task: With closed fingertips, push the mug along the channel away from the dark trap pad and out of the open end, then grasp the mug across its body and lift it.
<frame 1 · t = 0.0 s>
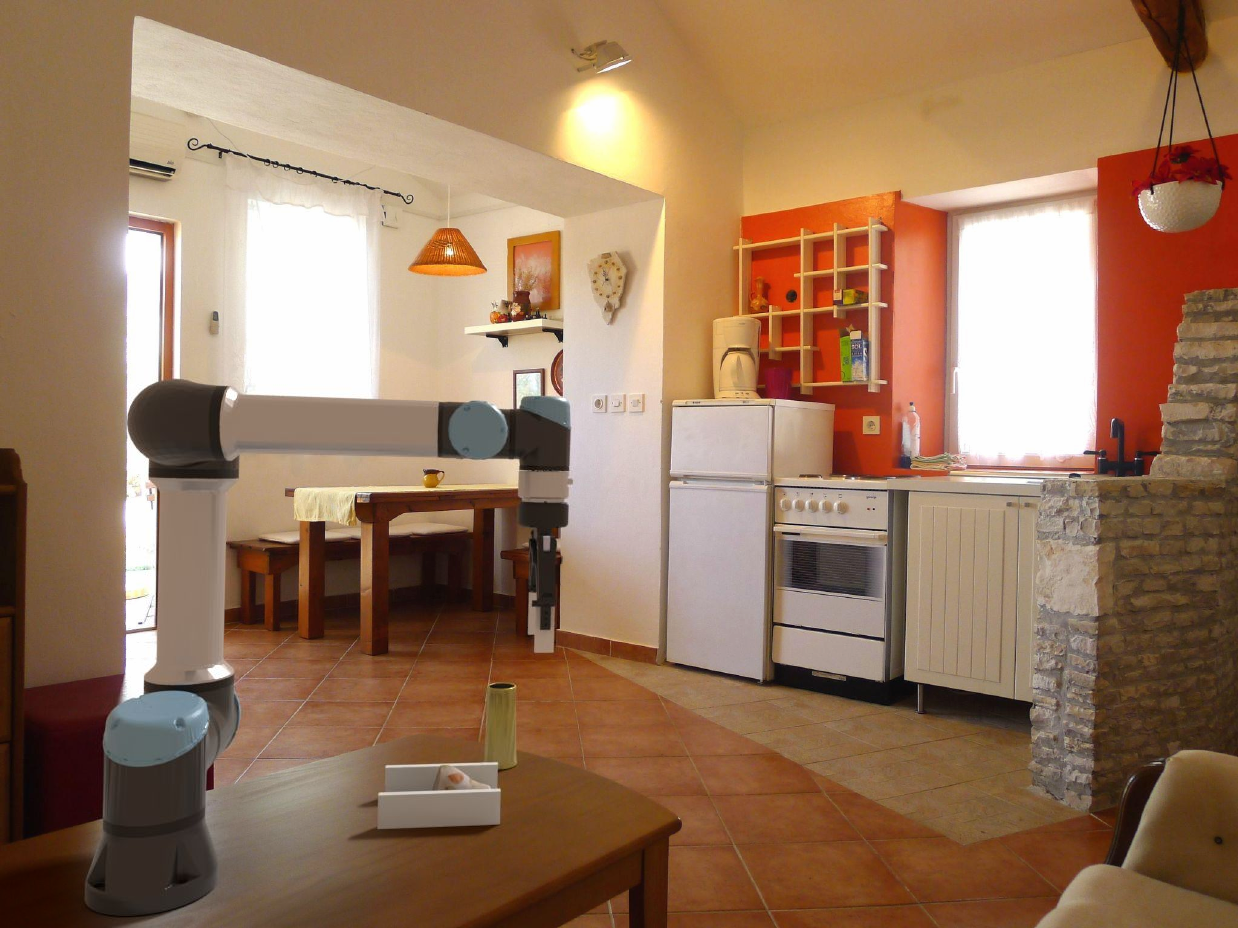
hand: (540, 642, 138), 28 cm above the table, fingers open, 13 cm apart
vase: (499, 765, 168), on the table
channel: (459, 808, 146), on the table
mug: (460, 810, 146), on the table
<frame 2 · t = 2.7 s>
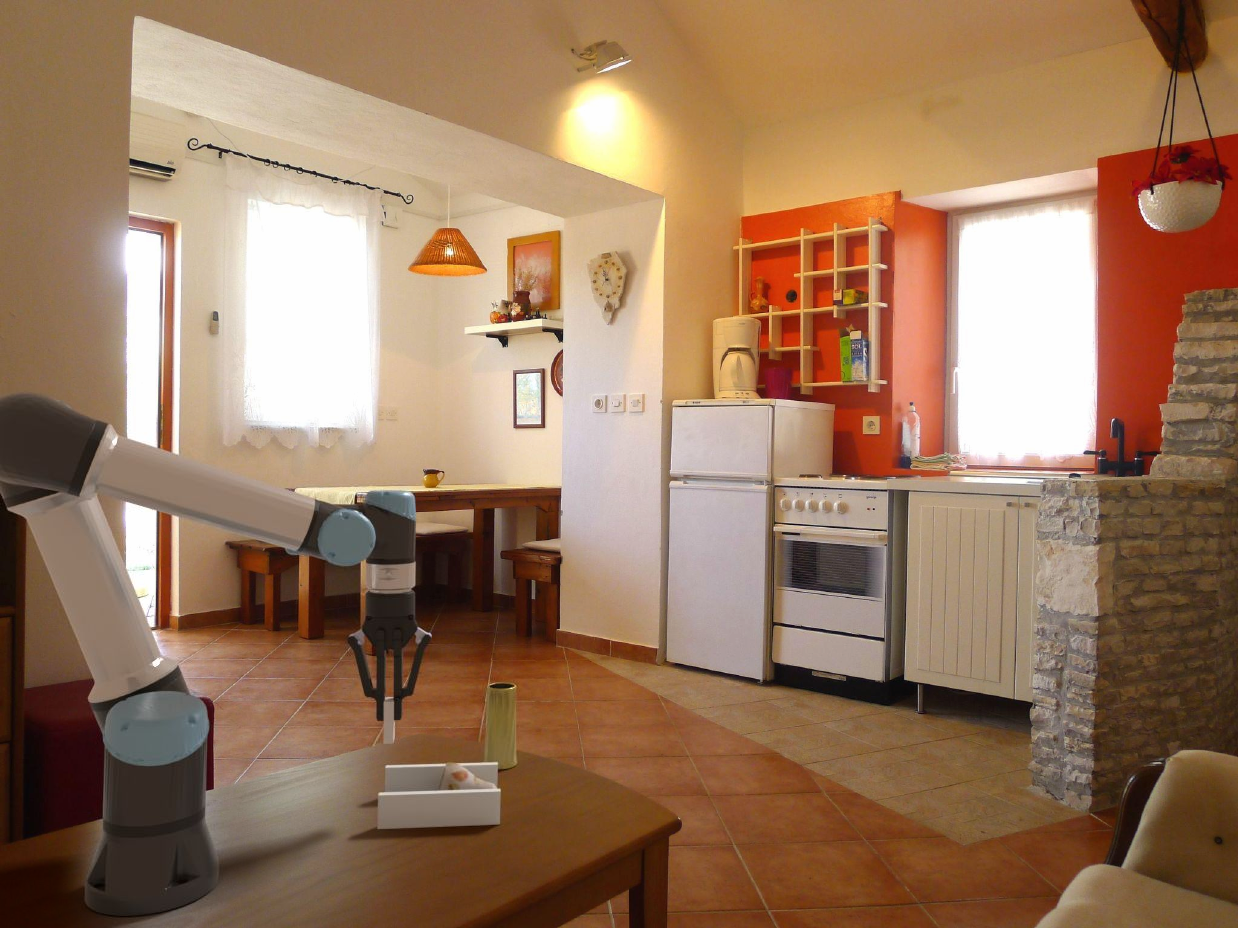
hand: (389, 740, 144), 11 cm above the table, fingers closed
mug: (465, 808, 147), on the table
everything else where it was.
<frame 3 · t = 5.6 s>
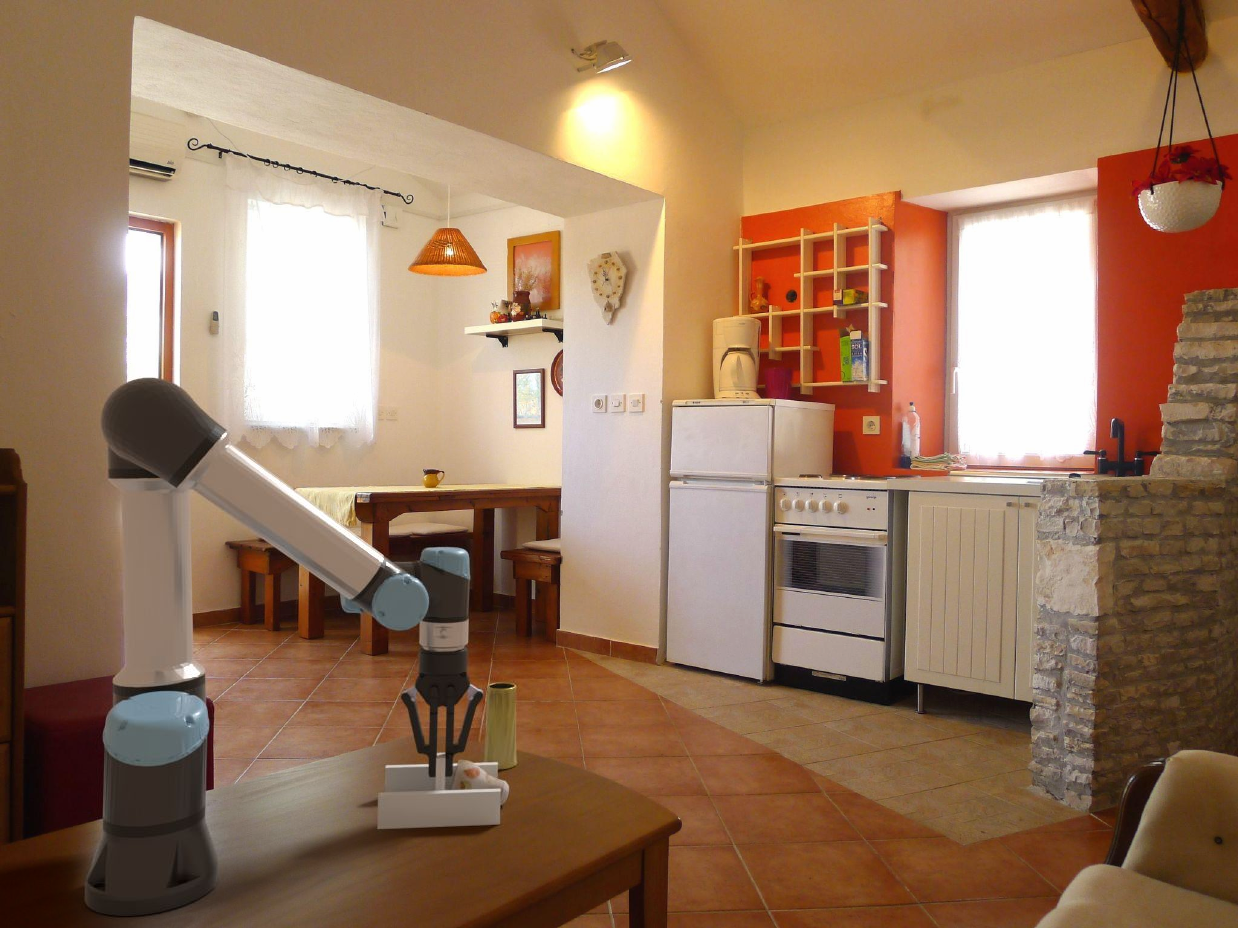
hand: (440, 796, 146), 2 cm above the table, fingers closed
mug: (477, 805, 148), on the table, touching gripper
everything else where it was.
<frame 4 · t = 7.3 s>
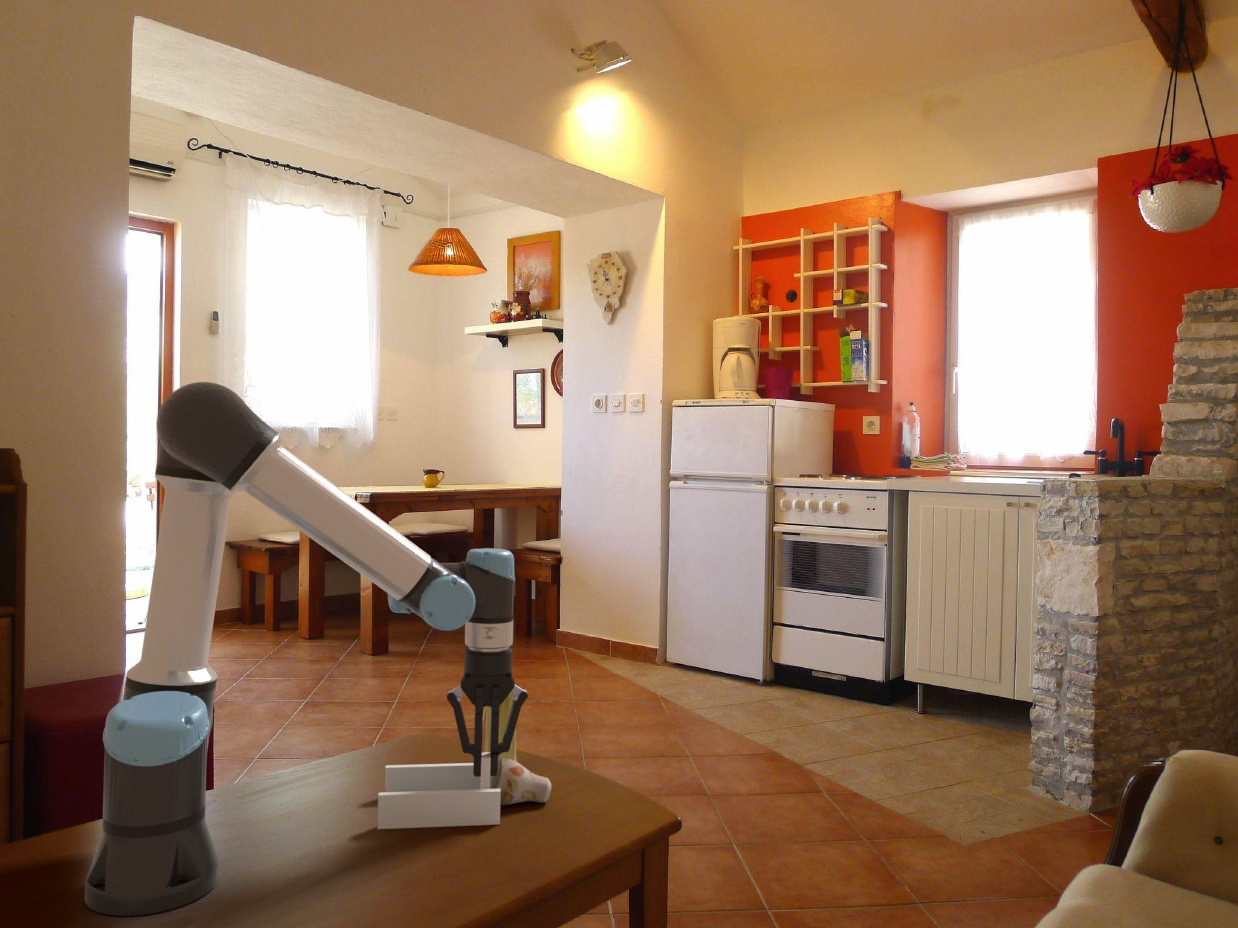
hand: (484, 795, 147), 2 cm above the table, fingers closed
mug: (520, 803, 150), on the table, touching gripper
everything else where it was.
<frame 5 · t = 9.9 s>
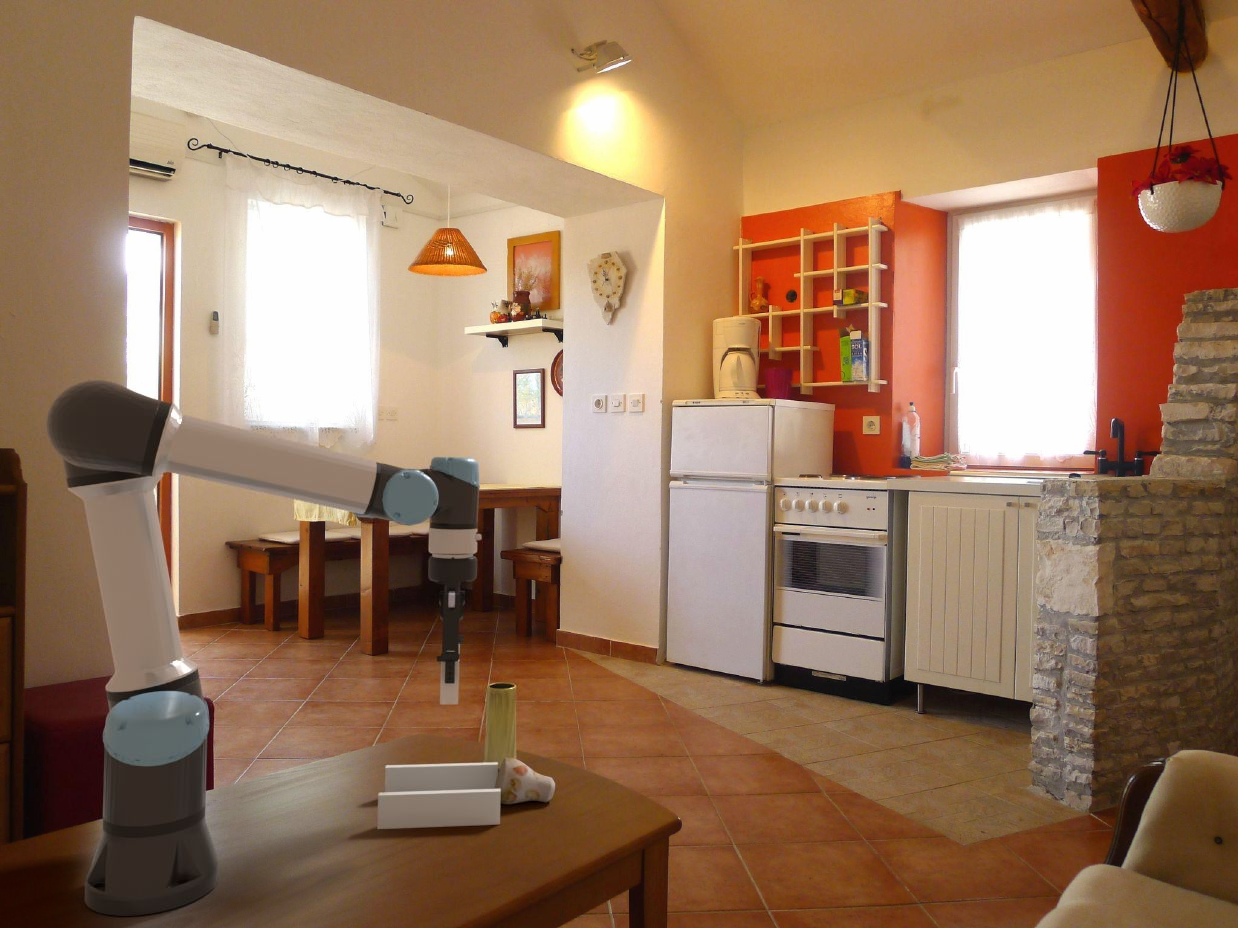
hand: (449, 693, 146), 18 cm above the table, fingers open, 11 cm apart
mug: (523, 802, 150), on the table, touching channel
everything else where it was.
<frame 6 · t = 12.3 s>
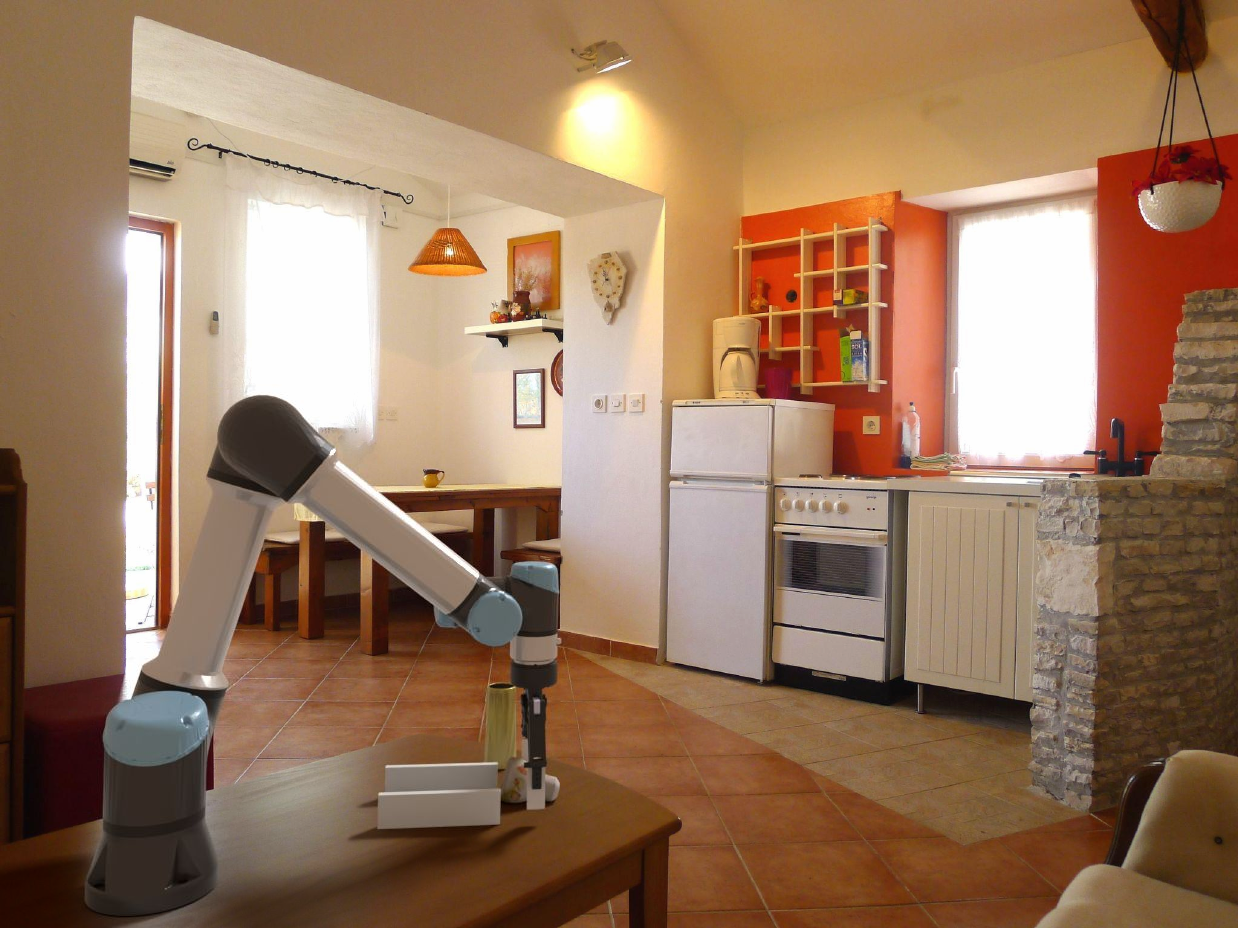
hand: (532, 792, 148), 2 cm above the table, fingers open, 13 cm apart
mug: (528, 801, 151), on the table, touching gripper
everything else where it was.
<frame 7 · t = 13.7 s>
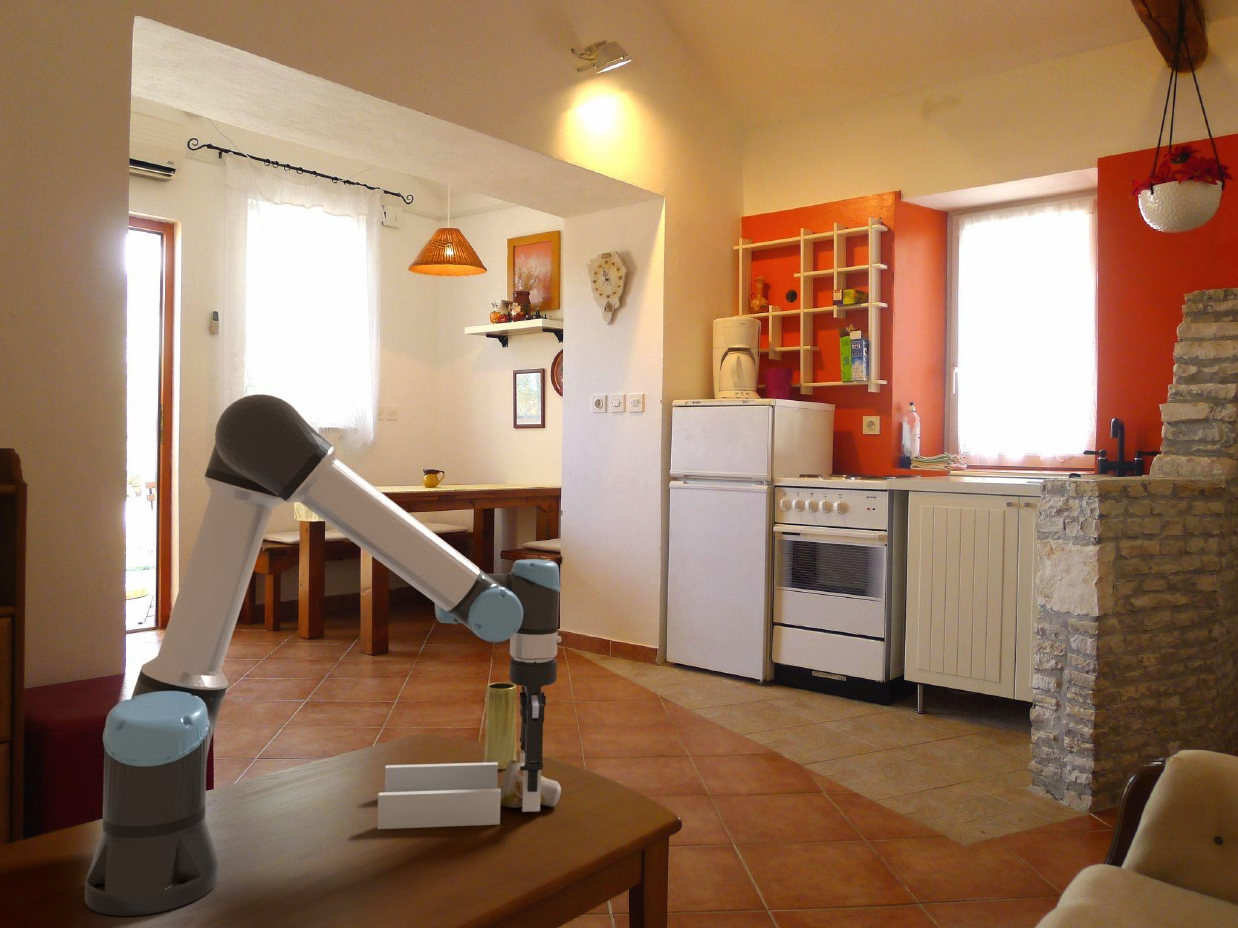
hand: (529, 800, 148), 1 cm above the table, fingers closed on mug, 7 cm apart
mug: (529, 806, 148), on the table, touching gripper
everything else where it was.
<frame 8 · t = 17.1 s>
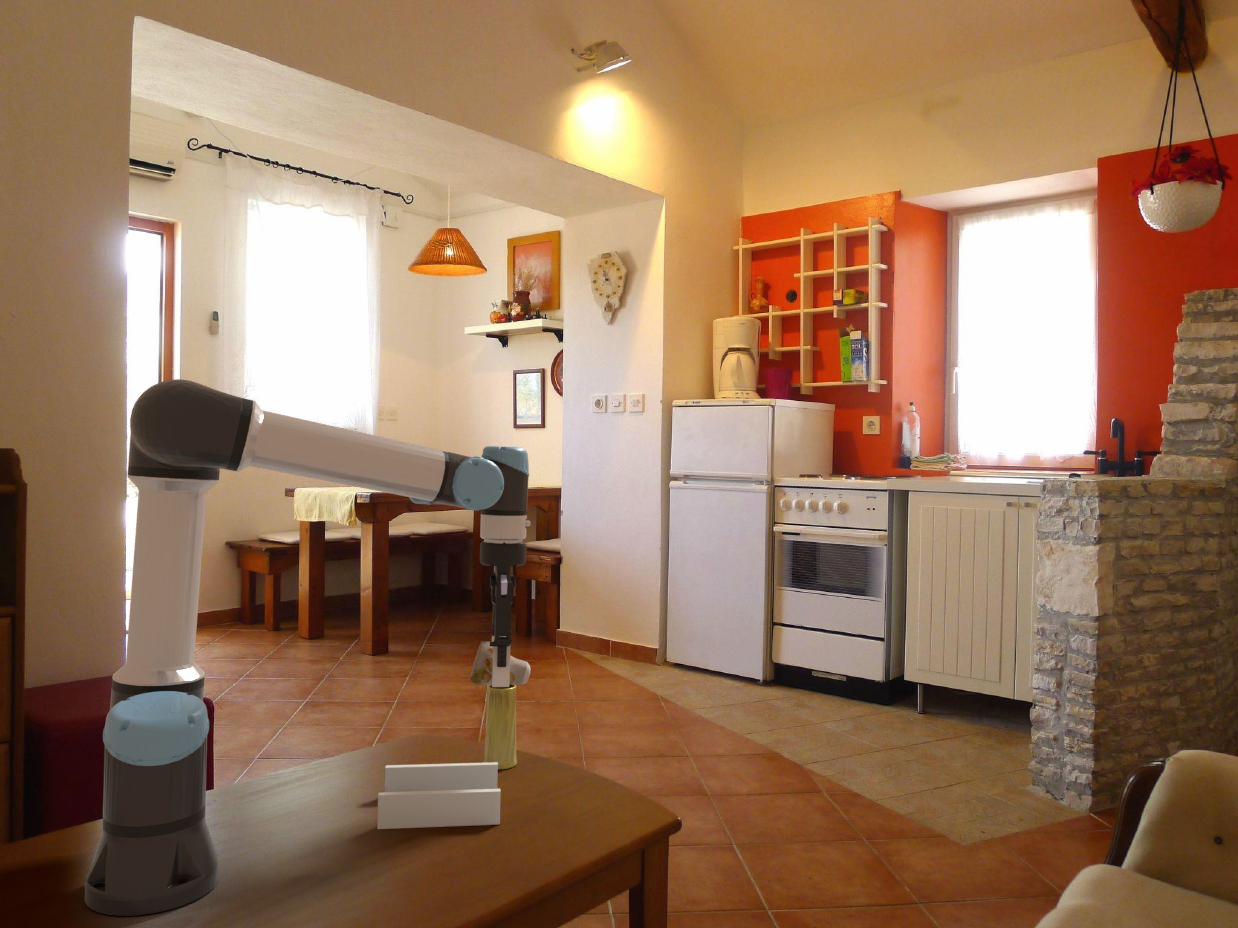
hand: (499, 680, 152), 19 cm above the table, fingers closed on mug, 7 cm apart
mug: (499, 685, 152), point 18 cm above the table, touching gripper
everything else where it was.
at the end: the gripper is holding mug; mug point 18.1 cm above the table; mug moved 19.7 cm from its start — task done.
